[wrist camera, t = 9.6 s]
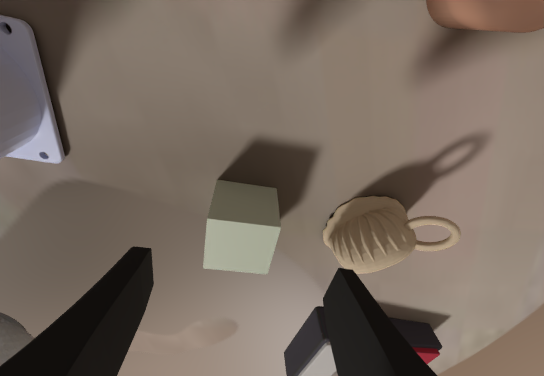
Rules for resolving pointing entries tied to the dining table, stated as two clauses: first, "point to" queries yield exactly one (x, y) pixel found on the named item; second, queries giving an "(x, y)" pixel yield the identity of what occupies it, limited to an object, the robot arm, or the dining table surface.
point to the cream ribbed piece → (379, 234)
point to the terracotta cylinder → (488, 14)
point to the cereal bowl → (11, 337)
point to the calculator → (318, 354)
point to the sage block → (242, 228)
